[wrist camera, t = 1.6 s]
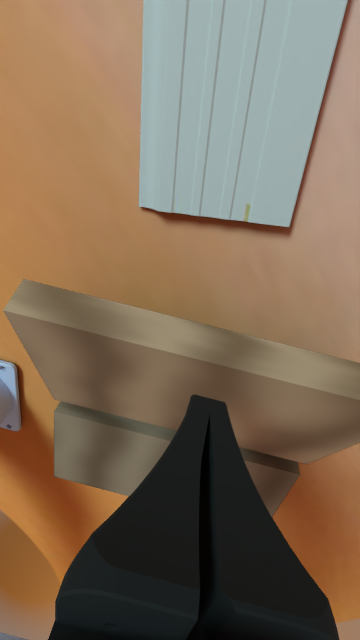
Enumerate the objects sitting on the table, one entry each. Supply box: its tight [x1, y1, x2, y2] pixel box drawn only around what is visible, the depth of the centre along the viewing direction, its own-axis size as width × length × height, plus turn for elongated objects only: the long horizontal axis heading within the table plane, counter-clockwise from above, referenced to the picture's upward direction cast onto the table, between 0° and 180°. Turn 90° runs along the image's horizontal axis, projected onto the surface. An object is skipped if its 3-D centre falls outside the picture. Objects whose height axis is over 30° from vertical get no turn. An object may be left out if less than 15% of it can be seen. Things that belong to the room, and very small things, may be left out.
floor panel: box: [54, 401, 300, 517], centre depth 28 cm, size 20×10×2 cm, turn 78°
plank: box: [3, 279, 360, 464], centre depth 21 cm, size 20×12×2 cm, turn 78°
